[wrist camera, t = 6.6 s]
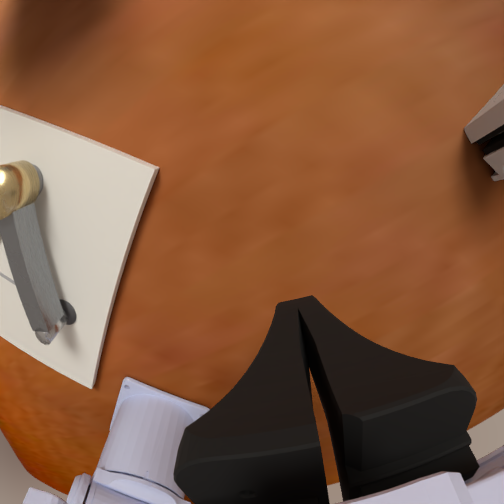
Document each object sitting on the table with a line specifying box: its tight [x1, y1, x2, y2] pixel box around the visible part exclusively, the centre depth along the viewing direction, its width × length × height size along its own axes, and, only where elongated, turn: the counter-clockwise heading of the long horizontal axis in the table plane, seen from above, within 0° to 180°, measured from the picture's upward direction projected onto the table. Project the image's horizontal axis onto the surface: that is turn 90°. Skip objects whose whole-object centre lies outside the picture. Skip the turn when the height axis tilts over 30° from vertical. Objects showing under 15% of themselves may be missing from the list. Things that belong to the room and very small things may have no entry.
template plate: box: [0, 105, 159, 389], centre depth 19 cm, size 20×17×2 cm
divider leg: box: [0, 160, 68, 345], centre depth 17 cm, size 12×3×3 cm, turn 4°
